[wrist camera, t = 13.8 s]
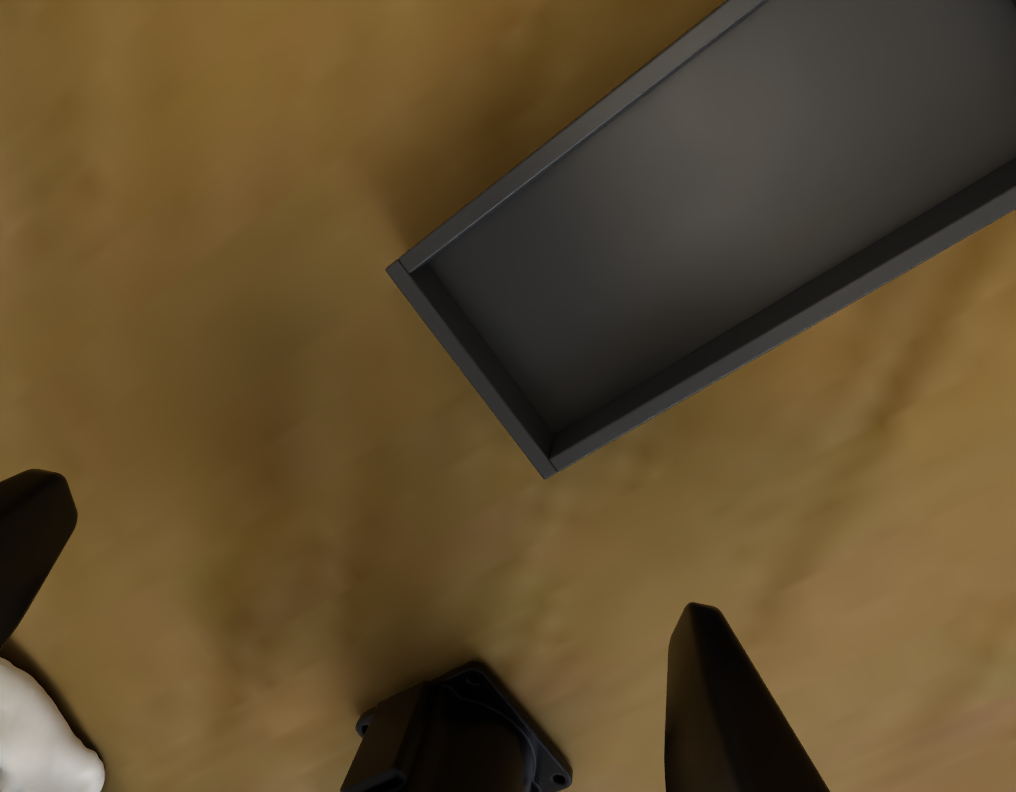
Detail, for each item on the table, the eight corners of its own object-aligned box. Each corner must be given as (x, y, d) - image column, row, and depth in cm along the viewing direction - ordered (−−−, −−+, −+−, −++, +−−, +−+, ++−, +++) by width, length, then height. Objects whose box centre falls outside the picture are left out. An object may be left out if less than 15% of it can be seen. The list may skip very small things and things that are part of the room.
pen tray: (947, -165, 15) (1000, -215, 13) (1089, 128, 16) (1158, 127, 14) (409, 255, 20) (383, 270, 18) (552, 447, 22) (544, 481, 20)
